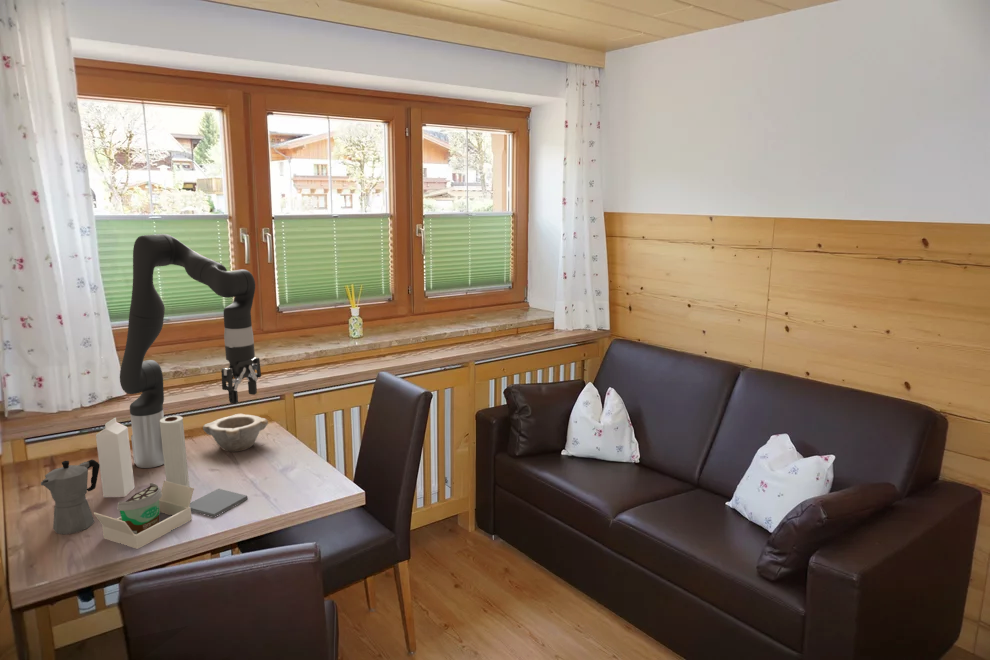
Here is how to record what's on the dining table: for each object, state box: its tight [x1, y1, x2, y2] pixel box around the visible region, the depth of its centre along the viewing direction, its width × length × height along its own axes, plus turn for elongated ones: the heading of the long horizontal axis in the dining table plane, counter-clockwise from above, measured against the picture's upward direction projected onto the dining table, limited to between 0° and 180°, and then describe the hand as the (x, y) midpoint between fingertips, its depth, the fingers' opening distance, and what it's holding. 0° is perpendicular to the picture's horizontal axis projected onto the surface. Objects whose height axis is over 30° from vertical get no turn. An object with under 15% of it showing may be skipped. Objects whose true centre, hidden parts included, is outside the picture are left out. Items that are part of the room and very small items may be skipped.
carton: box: [93, 480, 195, 550], centre depth 171 cm, size 12×20×8 cm, turn 156°
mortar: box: [202, 413, 269, 453], centre depth 226 cm, size 17×17×9 cm
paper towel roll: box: [160, 415, 190, 487], centre depth 193 cm, size 7×6×21 cm
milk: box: [95, 417, 135, 498], centre depth 190 cm, size 6×6×22 cm
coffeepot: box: [40, 459, 100, 535], centre depth 173 cm, size 15×9×18 cm, turn 159°
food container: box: [117, 482, 162, 534], centre depth 171 cm, size 12×6×10 cm, turn 168°
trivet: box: [189, 488, 249, 518], centre depth 186 cm, size 11×12×1 cm
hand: (243, 398), depth 187 cm, fingers open, 8 cm apart
